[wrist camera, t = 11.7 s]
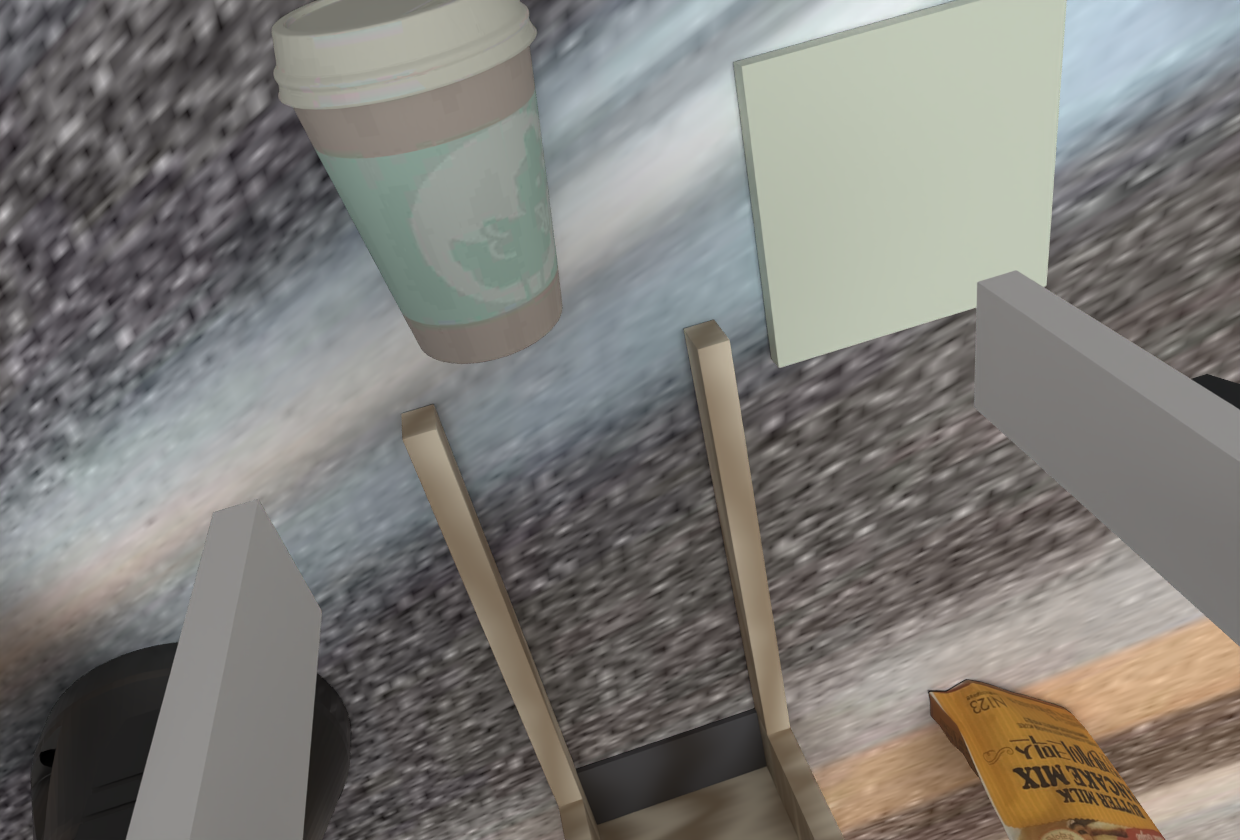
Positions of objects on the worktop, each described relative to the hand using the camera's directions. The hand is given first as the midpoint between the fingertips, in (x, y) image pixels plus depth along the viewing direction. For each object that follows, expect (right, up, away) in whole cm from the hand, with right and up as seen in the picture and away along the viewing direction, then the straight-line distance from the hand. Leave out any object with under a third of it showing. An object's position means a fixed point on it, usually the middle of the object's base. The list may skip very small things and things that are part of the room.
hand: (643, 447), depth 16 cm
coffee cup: (-5, +4, +19) cm, 20 cm away
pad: (+12, +11, +24) cm, 29 cm away
